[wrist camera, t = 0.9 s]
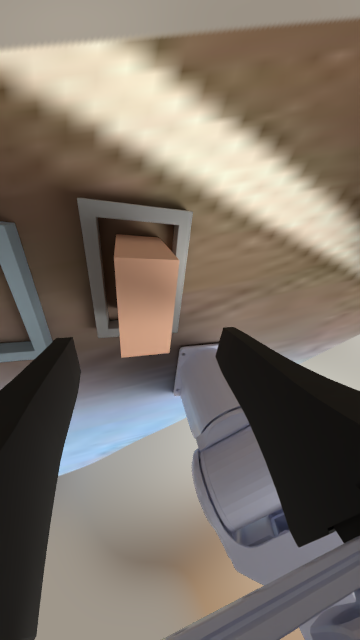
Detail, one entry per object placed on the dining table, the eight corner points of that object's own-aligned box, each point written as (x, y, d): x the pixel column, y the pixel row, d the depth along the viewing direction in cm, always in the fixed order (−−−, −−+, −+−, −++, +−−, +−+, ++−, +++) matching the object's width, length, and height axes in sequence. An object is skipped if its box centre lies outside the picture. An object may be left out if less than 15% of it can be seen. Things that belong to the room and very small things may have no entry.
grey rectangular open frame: (174, 324, 22) (177, 332, 20) (99, 329, 19) (98, 338, 18) (187, 210, 16) (193, 211, 14) (80, 197, 13) (76, 197, 12)
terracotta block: (155, 308, 20) (169, 353, 14) (121, 309, 19) (121, 357, 13) (158, 237, 16) (179, 260, 11) (116, 234, 15) (113, 257, 10)
